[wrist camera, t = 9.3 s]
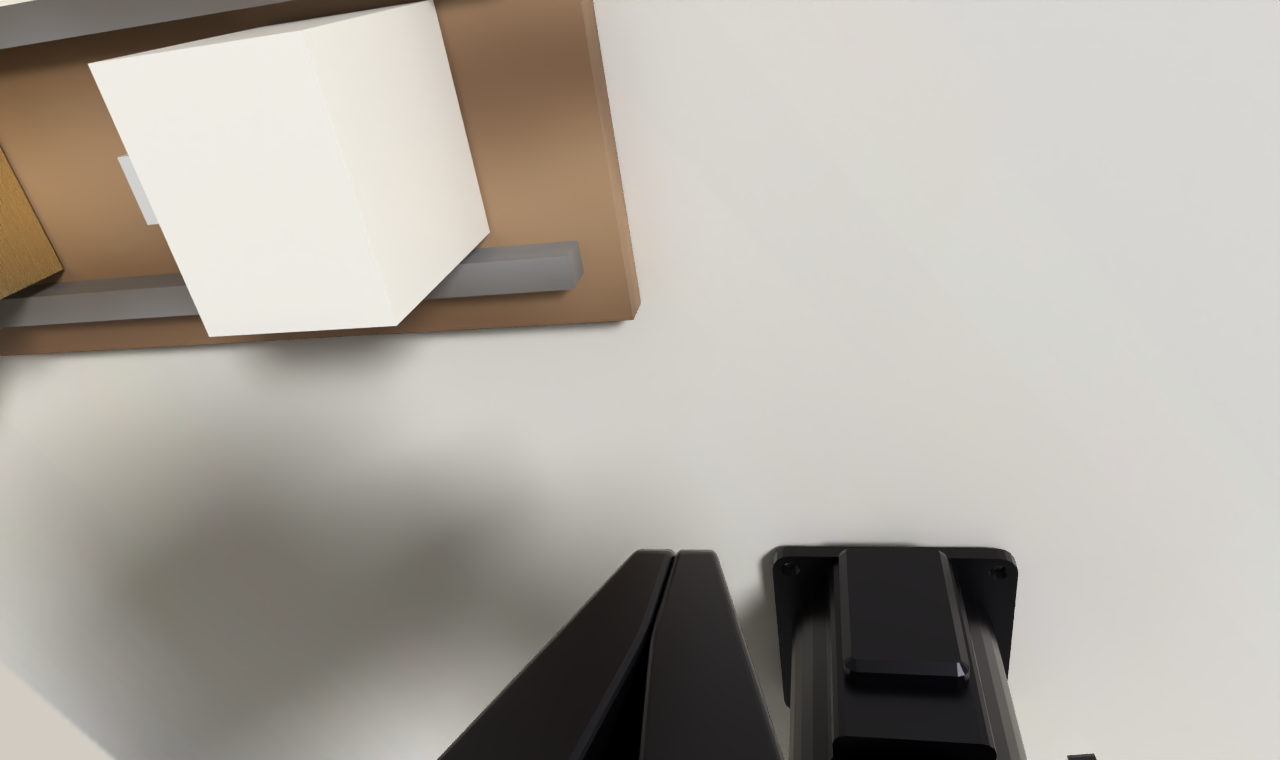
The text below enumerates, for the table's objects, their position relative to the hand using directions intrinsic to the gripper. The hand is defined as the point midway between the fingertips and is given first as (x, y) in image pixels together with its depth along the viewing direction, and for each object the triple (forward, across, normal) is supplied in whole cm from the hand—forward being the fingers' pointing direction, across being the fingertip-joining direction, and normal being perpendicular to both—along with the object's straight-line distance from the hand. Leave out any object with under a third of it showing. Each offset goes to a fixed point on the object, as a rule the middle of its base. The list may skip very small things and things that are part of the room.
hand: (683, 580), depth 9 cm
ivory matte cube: (+11, +9, -3) cm, 14 cm away
